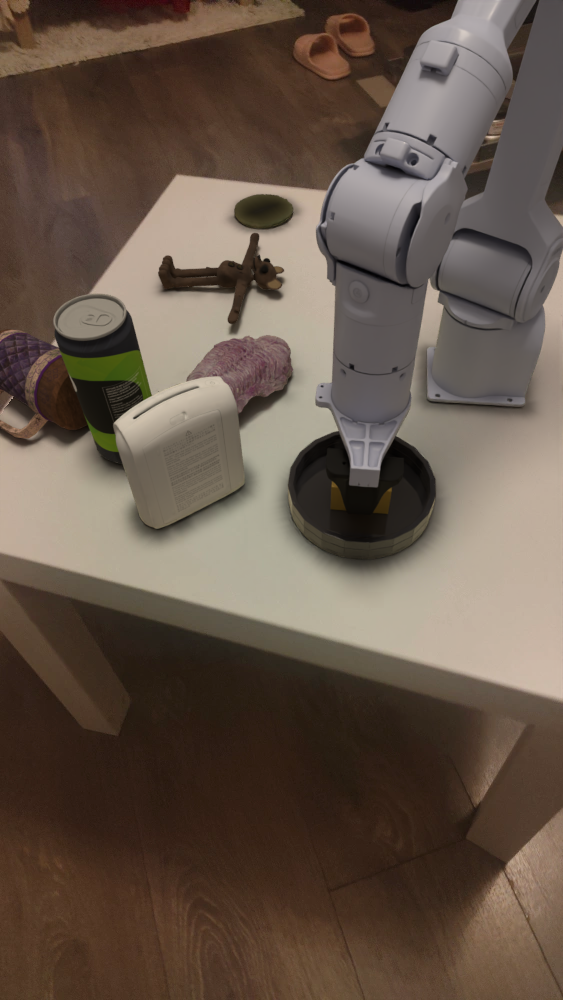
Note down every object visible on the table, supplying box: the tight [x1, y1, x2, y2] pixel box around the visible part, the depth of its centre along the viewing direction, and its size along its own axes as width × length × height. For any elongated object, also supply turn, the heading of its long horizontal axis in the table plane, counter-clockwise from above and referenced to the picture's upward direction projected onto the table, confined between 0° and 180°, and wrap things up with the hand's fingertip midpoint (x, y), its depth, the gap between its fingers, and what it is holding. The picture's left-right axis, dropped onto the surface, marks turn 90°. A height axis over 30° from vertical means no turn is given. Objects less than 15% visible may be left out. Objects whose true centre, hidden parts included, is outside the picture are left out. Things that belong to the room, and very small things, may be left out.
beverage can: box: [52, 292, 153, 465], centre depth 58 cm, size 6×6×15 cm
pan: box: [287, 430, 437, 561], centre depth 58 cm, size 13×13×3 cm
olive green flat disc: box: [233, 193, 294, 229], centre depth 89 cm, size 8×8×1 cm
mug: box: [0, 328, 88, 439], centre depth 65 cm, size 10×7×12 cm
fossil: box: [185, 334, 294, 415], centre depth 66 cm, size 8×14×5 cm, turn 144°
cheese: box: [331, 482, 392, 514], centre depth 57 cm, size 5×3×3 cm
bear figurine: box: [157, 232, 285, 325], centre depth 78 cm, size 18×4×14 cm
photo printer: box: [113, 376, 246, 530], centre depth 55 cm, size 10×4×12 cm, turn 123°
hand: (361, 474), depth 56 cm, fingers open, 7 cm apart
